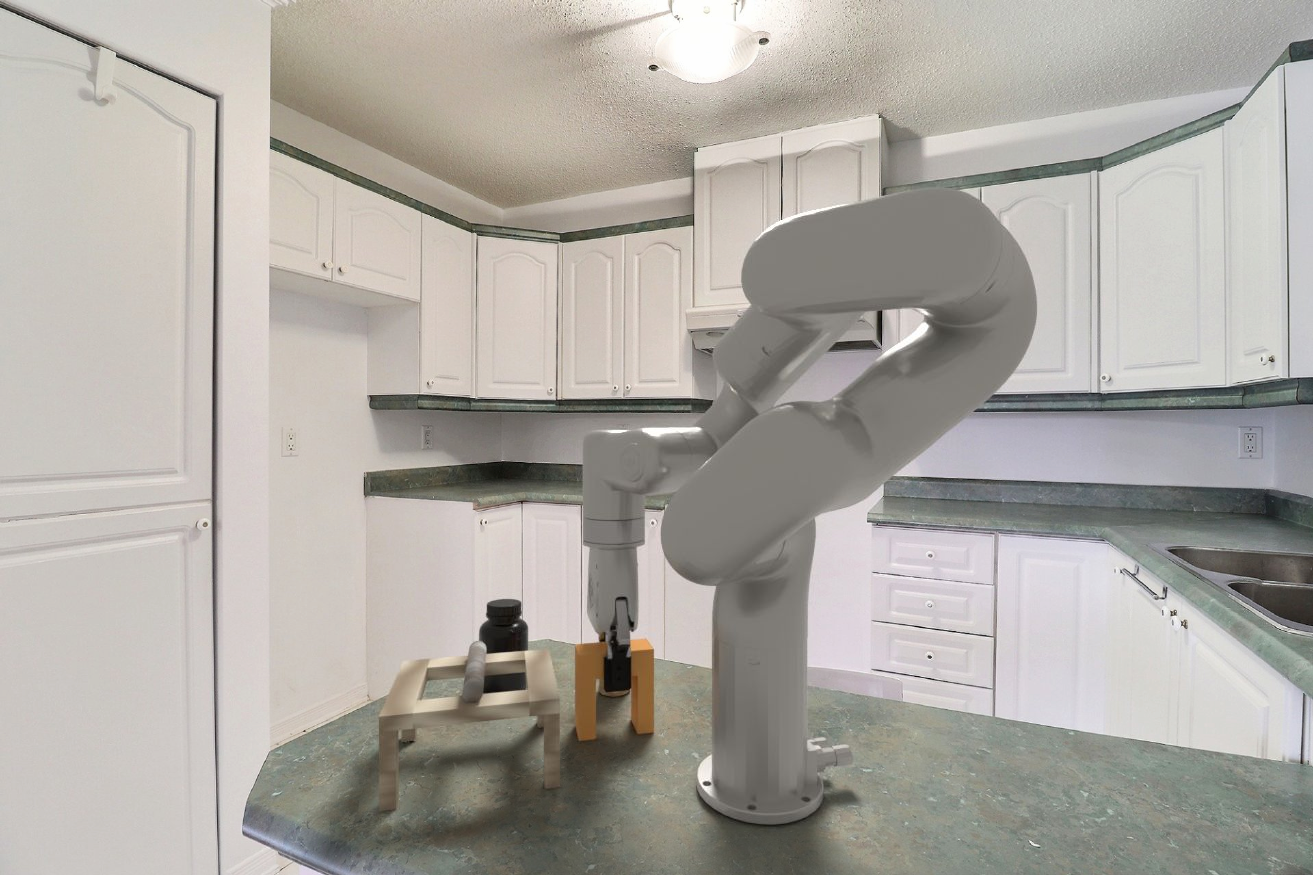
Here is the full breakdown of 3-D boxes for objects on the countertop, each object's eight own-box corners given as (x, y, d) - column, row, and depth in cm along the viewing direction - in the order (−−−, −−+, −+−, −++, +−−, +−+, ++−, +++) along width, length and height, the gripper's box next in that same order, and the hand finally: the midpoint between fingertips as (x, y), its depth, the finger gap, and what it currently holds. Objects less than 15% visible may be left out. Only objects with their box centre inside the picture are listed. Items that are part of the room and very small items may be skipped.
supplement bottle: (522, 698, 85) (521, 609, 85) (471, 697, 85) (471, 609, 85) (533, 678, 92) (532, 596, 92) (486, 677, 92) (486, 596, 92)
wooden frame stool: (549, 721, 78) (549, 632, 78) (559, 787, 63) (559, 678, 63) (403, 736, 74) (403, 643, 74) (379, 811, 59) (378, 695, 59)
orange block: (646, 717, 79) (646, 638, 79) (654, 732, 75) (653, 649, 75) (575, 725, 77) (574, 644, 77) (578, 741, 73) (578, 655, 73)
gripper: (575, 523, 83) (575, 661, 83) (592, 545, 67) (592, 716, 67) (630, 521, 85) (630, 656, 85) (660, 542, 68) (661, 709, 69)
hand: (614, 681), depth 76 cm, fingers closed on orange block, 4 cm apart
